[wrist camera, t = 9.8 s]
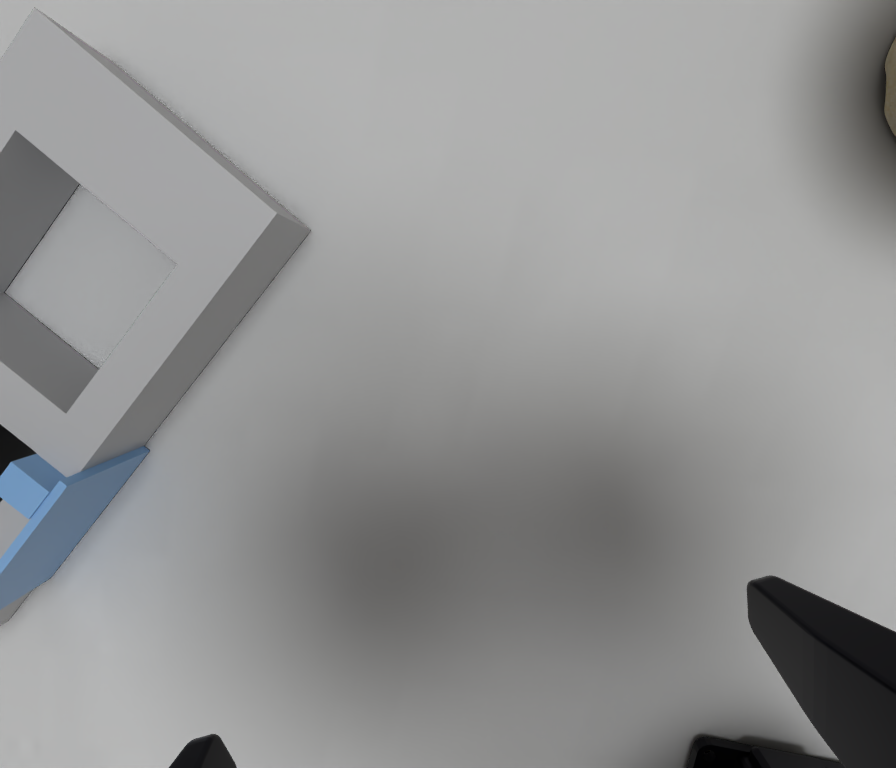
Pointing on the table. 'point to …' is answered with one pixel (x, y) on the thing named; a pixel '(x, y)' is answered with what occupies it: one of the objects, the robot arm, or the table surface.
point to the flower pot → (891, 88)
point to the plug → (11, 449)
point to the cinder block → (159, 324)
